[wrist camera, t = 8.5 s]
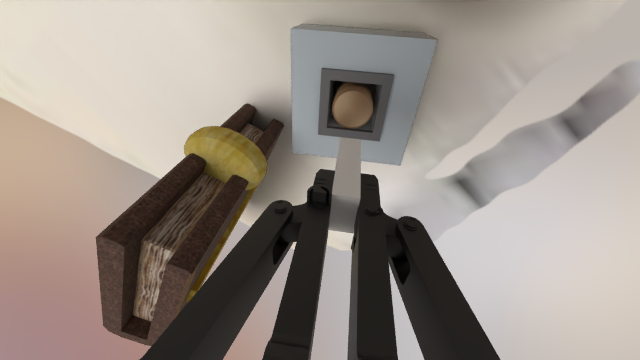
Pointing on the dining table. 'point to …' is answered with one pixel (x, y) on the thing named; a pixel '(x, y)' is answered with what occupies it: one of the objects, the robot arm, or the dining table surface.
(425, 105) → the dining table surface
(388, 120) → the socket block
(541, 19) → the dining table surface
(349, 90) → the dowel
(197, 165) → the book
